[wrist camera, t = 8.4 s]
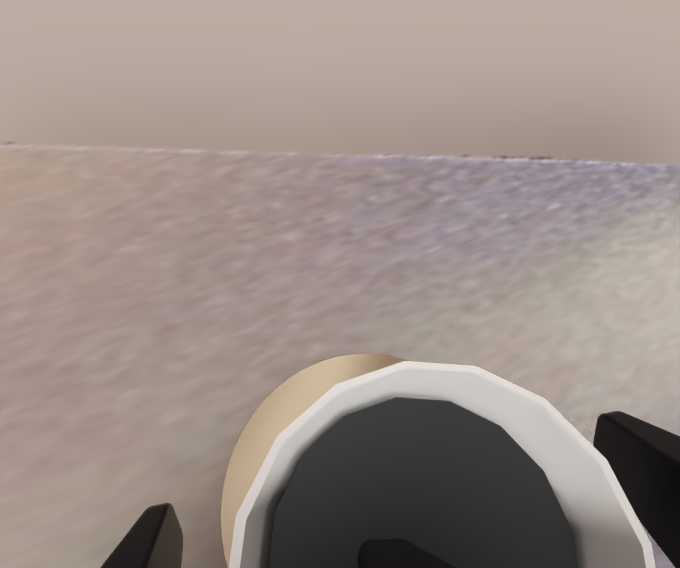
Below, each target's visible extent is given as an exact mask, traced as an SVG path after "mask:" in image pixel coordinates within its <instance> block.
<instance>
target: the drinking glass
mask: <svg viewBox="0 0 680 568" xmlns="http://www.w3.org/2000/svg"><path fill="white" fill-rule="evenodd" d="M229 568H656V566H655V561H654V556H653V550H652V545H651V542H650V541H649V539H648V537H647V535H646V533H645V531H644V529H643V527H642V525H641V523H640V522H639V520H638V518H637V516H636V514H635V512H634V510H633V508H632V506H631V505H630V503H629V501H628V499H627V497H626V495H625V493H624V491H623V489H622V488H621V486H620V484H619V482H618V480H617V478H616V476H615V474H614V472H613V470H612V469H611V467H610V465H609V463H608V461H607V459H606V458H605V457H604V456H603V455H602V454H601V453H600V452H599V451H598V450H597V449H596V448H595V447H594V446H593V445H592V444H591V443H590V442H589V441H588V440H586V439H585V438H584V437H583V436H582V435H581V434H580V433H579V432H578V431H577V430H576V429H575V428H574V427H573V426H572V425H571V424H570V423H569V422H568V421H567V420H566V419H565V418H564V417H563V416H562V415H561V414H560V413H559V412H558V411H557V410H556V409H555V408H554V407H553V406H552V405H551V404H550V403H549V402H548V401H547V400H546V399H544V398H542V397H540V396H538V395H536V394H534V393H532V392H530V391H527V390H525V389H523V388H521V387H519V386H517V385H515V384H513V383H511V382H508V381H506V380H504V379H502V378H500V377H498V376H496V375H494V374H492V373H489V372H487V371H485V370H483V369H481V368H479V367H477V366H468V365H454V364H440V363H426V362H412V361H403V362H400V363H397V364H394V365H391V366H388V367H385V368H382V369H379V370H376V371H373V372H370V373H367V374H364V375H361V376H359V377H356V378H353V379H350V380H347V381H344V382H341V383H338V384H335V385H334V386H333V387H332V388H331V389H330V390H329V391H328V392H326V393H325V394H324V395H323V396H322V397H321V398H320V399H319V400H317V401H316V402H315V403H314V404H313V405H312V406H311V407H309V408H308V409H307V410H306V411H305V412H304V413H303V414H302V415H300V416H299V417H298V418H297V419H296V420H295V421H294V422H293V423H291V424H290V425H289V426H288V427H287V428H286V429H285V430H284V431H282V432H281V433H280V434H279V435H278V436H277V437H276V439H275V441H274V443H273V445H272V447H271V449H270V451H269V453H268V455H267V457H266V459H265V460H264V462H263V464H262V466H261V468H260V470H259V472H258V474H257V476H256V478H255V480H254V482H253V484H252V486H251V488H250V489H249V491H248V493H247V495H246V497H245V499H244V501H243V503H242V505H241V507H240V509H239V511H238V513H237V515H236V519H235V526H234V533H233V540H232V548H231V555H230V562H229Z"/></svg>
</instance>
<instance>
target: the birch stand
mask: <svg viewBox="0 0 680 568" xmlns="http://www.w3.org/2000/svg"><path fill="white" fill-rule="evenodd" d="M403 361H407V360H404V359H400V358H396V357H392V356H387V355H378V354H352V355H345V356H338V357H335V358H331V359H328V360H324V361H321V362H319V363H316V364H314V365H312V366H309V367H307V368H305V369H303V370H302V371H300V372H298V373H297V374H295V375H293V376H291V377H290V378H289V379H287V380H286V381H285V382H284V383H282V384H281V385H280V386H278V387H277V388H276V389H275V390H274V391H273V392H272V393H271V394H270V395H269V396H268V397H267V398H266V399H265V400H264V401H263V402H262V403H261V405H260V406H259V407H258V408H257V410H256V411H255V412H254V414H253V415H252V416H251V418H250V419H249V421H248V423H247V424H246V426H245V428H244V429H243V431H242V433H241V435H240V437H239V439H238V441H237V443H236V446H235V448H234V450H233V453H232V456H231V459H230V462H229V465H228V468H227V471H226V476H225V482H224V487H223V492H222V504H221V532H222V542H223V548H224V554H225V560H226V563H227V567H228V568H229V562H230V555H231V548H232V540H233V533H234V526H235V519H236V515H237V513H238V511H239V509H240V507H241V505H242V503H243V501H244V499H245V497H246V495H247V493H248V491H249V489H250V488H251V486H252V484H253V482H254V480H255V478H256V476H257V474H258V472H259V470H260V468H261V466H262V464H263V462H264V460H265V459H266V457H267V455H268V453H269V451H270V449H271V447H272V445H273V443H274V441H275V439H276V437H277V436H278V435H279V434H280V433H281V432H282V431H284V430H285V429H286V428H287V427H288V426H289V425H290V424H291V423H293V422H294V421H295V420H296V419H297V418H298V417H299V416H300V415H302V414H303V413H304V412H305V411H306V410H307V409H308V408H309V407H311V406H312V405H313V404H314V403H315V402H316V401H317V400H319V399H320V398H321V397H322V396H323V395H324V394H325V393H326V392H328V391H329V390H330V389H331V388H332V387H333V386H334V385H335V384H338V383H341V382H344V381H347V380H350V379H353V378H356V377H359V376H361V375H364V374H367V373H370V372H373V371H376V370H379V369H382V368H385V367H388V366H391V365H394V364H397V363H400V362H403Z"/></svg>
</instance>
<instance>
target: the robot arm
mask: <svg viewBox="0 0 680 568" xmlns="http://www.w3.org/2000/svg"><path fill="white" fill-rule="evenodd" d="M593 445H594V447H595V448H596V449H597V450H598V451H599V452H600V453H601V454H602V455H603V456H604V457H605V458H606V459H607V461H608V463H609V465H610V467H611V469H612V470H613V472H614V474H615V476H616V478H617V480H618V482H619V484H620V486H621V488H622V489H623V491H624V493H625V495H626V497H627V499H628V501H629V503H630V505H631V506H632V508H633V510H634V512H635V514H636V516H637V517H638V519H639V520H640V522H641V523H642V525H643V526H644V527H645V529H646V530H647V531H648V533H649V534H650V535H651V537H652V538H653V539H654V540H655V542H656V543H657V544H658V546H659V547H660V548H661V549H662V551H663V552H664V553H665V555H666V556H667V557H668V559H669V560H670V561H671V562H672V564H673V565H674V566H675V568H680V436H677V435H675V434H673V433H670V432H668V431H666V430H663V429H661V428H659V427H656V426H654V425H652V424H649V423H647V422H645V421H642V420H640V419H638V418H635V417H633V416H630V415H628V414H626V413H623V412H620V411H613V412H609V413H604V414H601V415H600V416H599V417H598V419H597V424H596V430H595V435H594V441H593ZM182 550H183V534H182V529H181V527H180V524H179V521H178V519H177V516H176V514H175V511H174V508H173V506H172V505H171V504H170V503H164V504H159V505H155V506H151V507H149V508H147V509H146V510H145V511H144V513H143V514H142V515H141V516H140V518H139V519H138V520H137V522H136V523H135V524H134V525H133V527H132V528H131V529H130V531H129V532H128V533H127V534H126V536H125V537H124V538H123V539H122V541H121V542H120V543H119V545H118V546H117V547H116V548H115V550H114V551H113V552H112V554H111V555H110V556H109V557H108V559H107V560H106V561H105V563H104V564H103V565H102V566H101V568H181V562H182Z"/></svg>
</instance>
